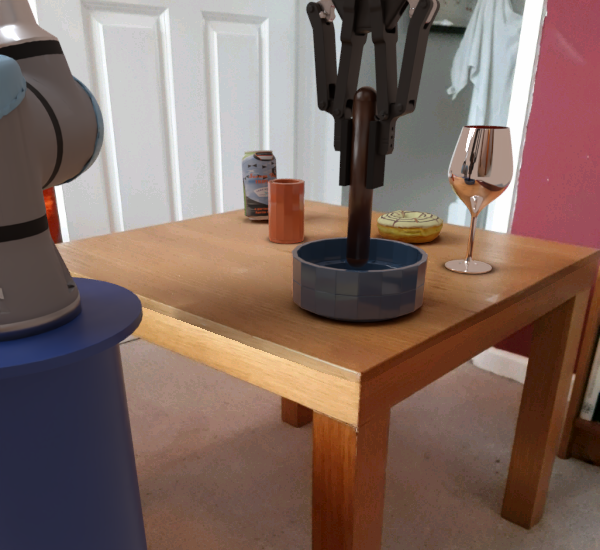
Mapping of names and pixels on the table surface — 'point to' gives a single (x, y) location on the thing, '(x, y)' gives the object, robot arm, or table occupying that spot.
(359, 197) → the stirring stick
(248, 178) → the beverage can
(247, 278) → the table surface
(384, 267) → the bowl
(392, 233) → the decorated donut
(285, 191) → the utensil pot
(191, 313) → the table surface
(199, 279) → the table surface
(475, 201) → the wineglass
